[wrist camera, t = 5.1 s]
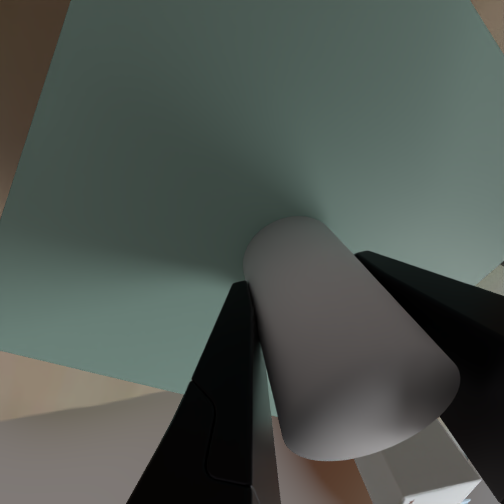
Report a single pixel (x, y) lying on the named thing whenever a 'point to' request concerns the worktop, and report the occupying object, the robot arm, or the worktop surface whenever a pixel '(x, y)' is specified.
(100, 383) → the worktop surface
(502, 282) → the worktop surface
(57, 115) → the lid
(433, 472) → the supplement box
